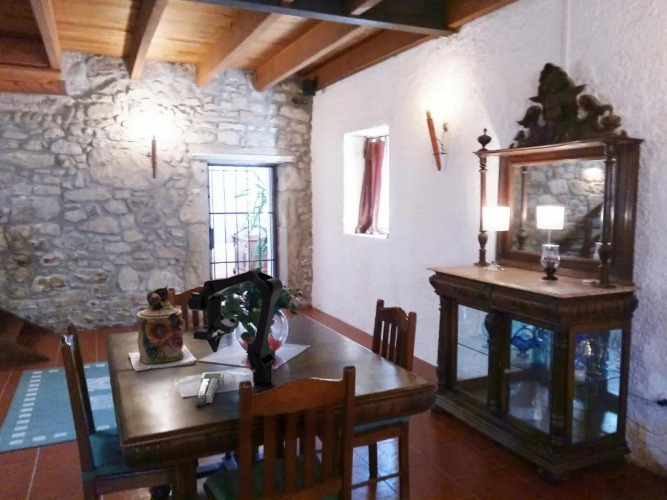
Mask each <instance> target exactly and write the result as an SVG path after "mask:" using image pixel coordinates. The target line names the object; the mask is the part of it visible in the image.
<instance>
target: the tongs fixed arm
mask: <svg viewBox="0 0 667 500" xmlns="http://www.w3.org/2000/svg"><path fill="white" fill-rule="evenodd" d="M218 383H219V381H218V379H212V380H210V382H209V388H208V391H207V393H206V398H205V404H208V403H209V404H212V403H213V400H214V397H215V394H216V392H217V388H218Z"/></svg>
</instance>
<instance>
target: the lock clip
mask: <svg viewBox="0 0 667 500" xmlns="http://www.w3.org/2000/svg"><path fill="white" fill-rule="evenodd" d="M203 379H209V381H211V380H212V379H218V380H219V385H223V383H224V380H225V371H221V372H220V371H219V372H218V371H216V372H213V371H212V372H209V371H208V372H203V373H202V374H201V378H200V386H201V385H202V382H203Z"/></svg>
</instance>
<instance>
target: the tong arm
mask: <svg viewBox="0 0 667 500" xmlns="http://www.w3.org/2000/svg"><path fill="white" fill-rule="evenodd" d="M209 385H210V380H209V379H203V382H202V385H201V384H200V388H199V392H198V395H196V396H195V406H196V407H204V406H206V393H207V391H208V388H209Z"/></svg>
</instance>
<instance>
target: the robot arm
mask: <svg viewBox="0 0 667 500" xmlns="http://www.w3.org/2000/svg"><path fill="white" fill-rule="evenodd" d="M248 282H250V283H252V285H253V287H255V289H257V290H259V298H260V300H261V305H260V311H259V316H258V321H257V326H256V332H255V337H254V339H253V340H252V341H250V342H248V344H247V350H246V352H245V354H247V355H246V357H247V360H248V362H249V364H250V367H251V369H252V383H253V386H254V387H266V386H267V387H268V386H269V387H270V386H273V366H274V365H275V363H276V360H277V359H276V357H275V356H274V357H273V355H272V354H271V353H270V346H271V345H270V342H269V336H270V332H271V327H272V320H273V316H274V310H275V307H276V306H275V305H276V303H277V301H278V300H279V298H280V296H281V293H282V292H283V291H282V290H283V288H284V284H283V283H282V281H281V280H280V279H279V278H278V277H274V276H271V275H270V274H267V273H264V272H262V271H261V270H259V269H257V268H254V269H253V268H252V269H249V270H247V271H244V272H242V273H238V274H236V275H231V276H229V277H221V278H219V277H218V278H214V279H210V280H206V281H205V282H203V287H202V289H201V290H200V292H196V291H194V292H191V293H190V297H189V298H188V301H187V306H188V309H189V310H190V311H200V312H205V311H206V314H204V316H203V317H204V319H206V324H205V325H204V329H203V328H199V329H197V330H195V331H194V332H193V334H192V335H193V339H194V340H195V339H196V340H201V341H207V343H208V344H209V346H210V348H211V350H212V352H213V353H217V352H218V350H219V349H218V348H219V346H220V342H221V339H222V338H223V337H224V336H225V335H226V334H227V335H229V334H231V333H234V332H235V330H236V329H235V328H237V327H238V320H237V318H235V317H232V318H230V319H229V318H228V319H227V318H226V315H225V313H223V307H222V306H223V302H225V301H227V300H228V299H227V297H225V296H224V295H223V294H221V293H223V292H225V291H226V290H228V289H230V288H231V287H234V286H238V285H241V284H245V283H248ZM217 295H218V296H217ZM262 361H263V362H262Z"/></svg>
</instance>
